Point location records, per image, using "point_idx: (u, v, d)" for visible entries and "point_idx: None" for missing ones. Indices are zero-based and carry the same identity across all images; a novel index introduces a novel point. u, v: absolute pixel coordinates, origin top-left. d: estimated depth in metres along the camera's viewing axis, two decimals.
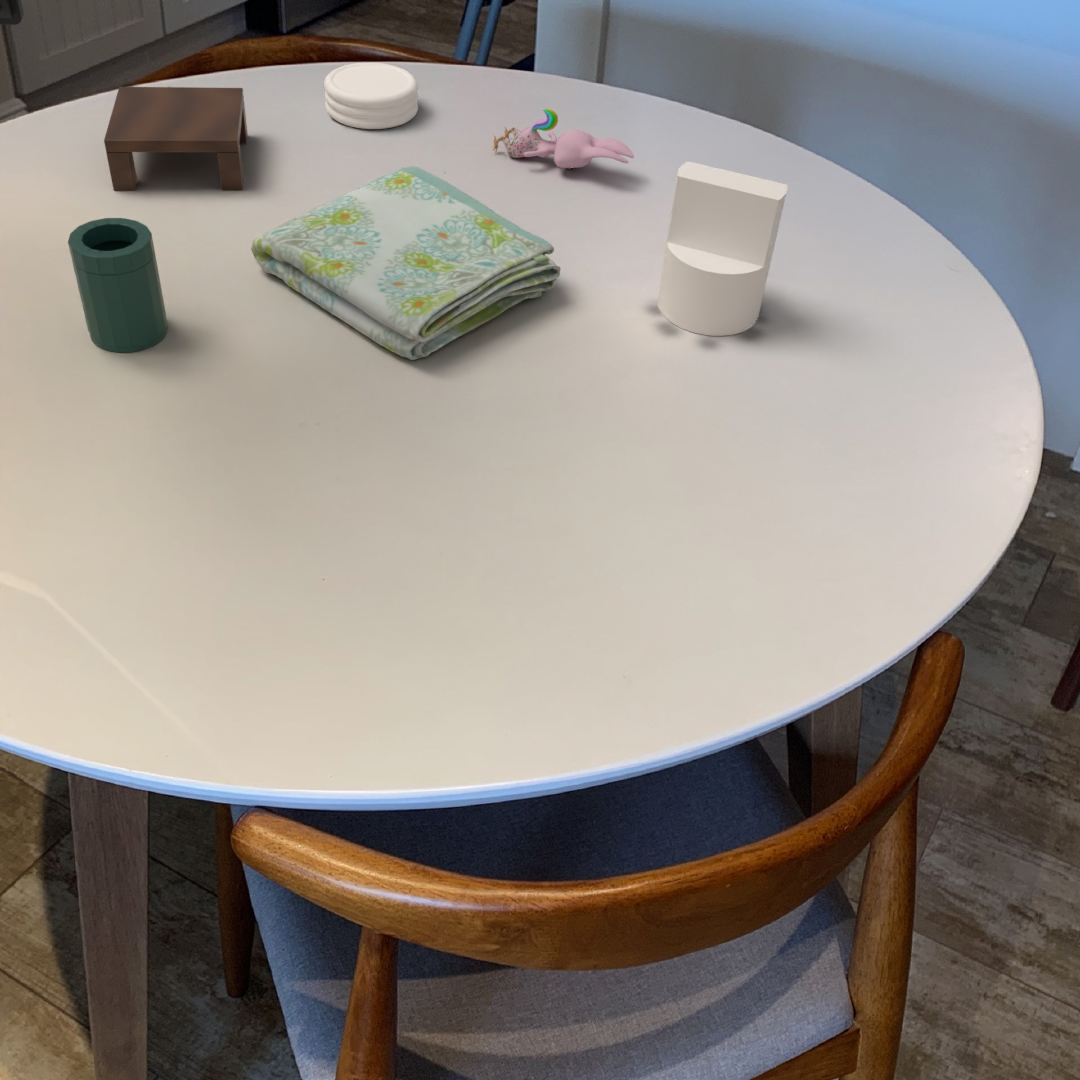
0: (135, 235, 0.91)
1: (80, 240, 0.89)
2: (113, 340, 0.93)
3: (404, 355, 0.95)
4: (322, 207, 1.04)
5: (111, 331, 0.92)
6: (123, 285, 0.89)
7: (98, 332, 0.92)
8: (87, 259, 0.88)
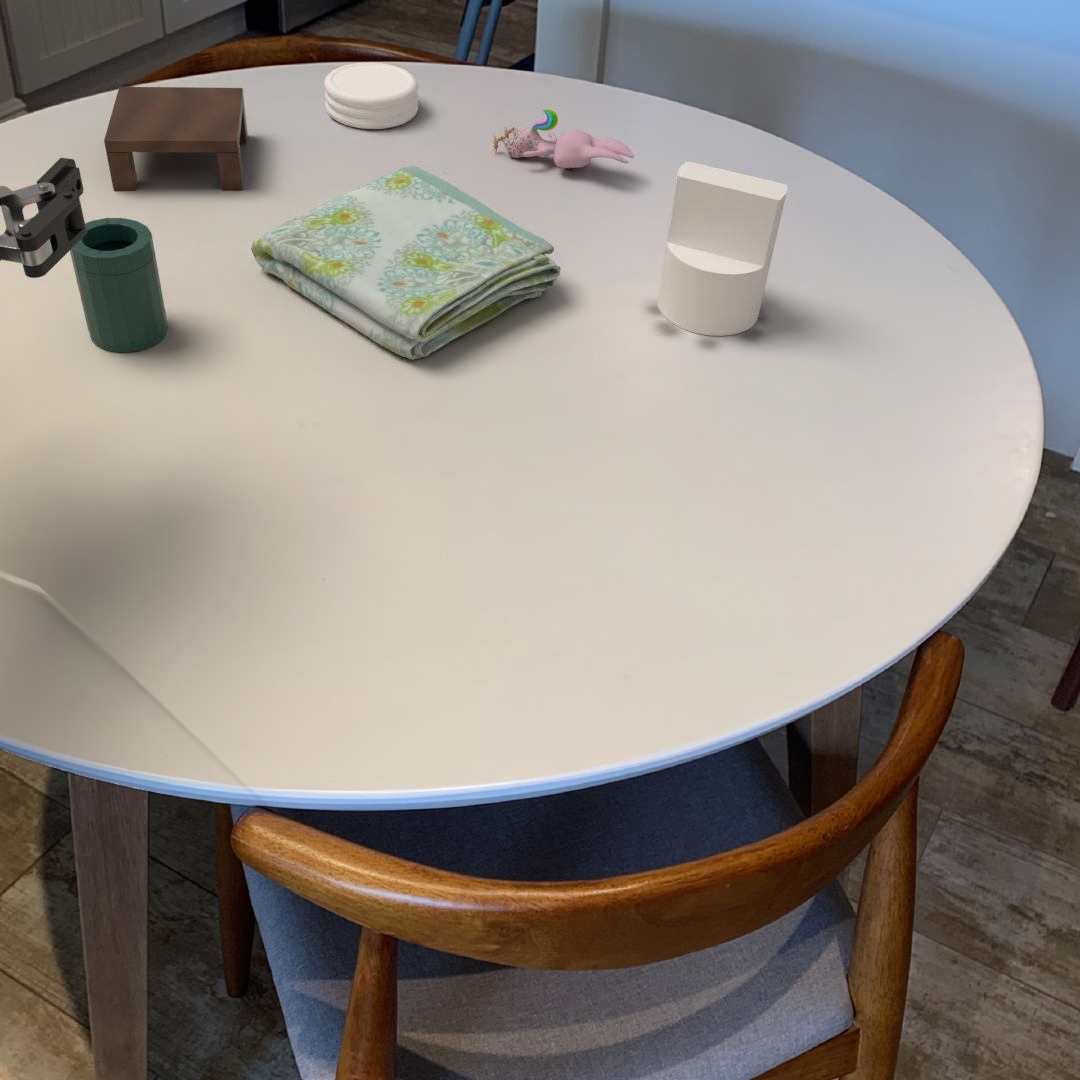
0: (135, 235, 0.91)
1: (80, 240, 0.89)
2: (113, 340, 0.93)
3: (404, 355, 0.95)
4: (322, 207, 1.04)
5: (111, 331, 0.92)
6: (123, 285, 0.89)
7: (98, 332, 0.92)
8: (87, 259, 0.88)
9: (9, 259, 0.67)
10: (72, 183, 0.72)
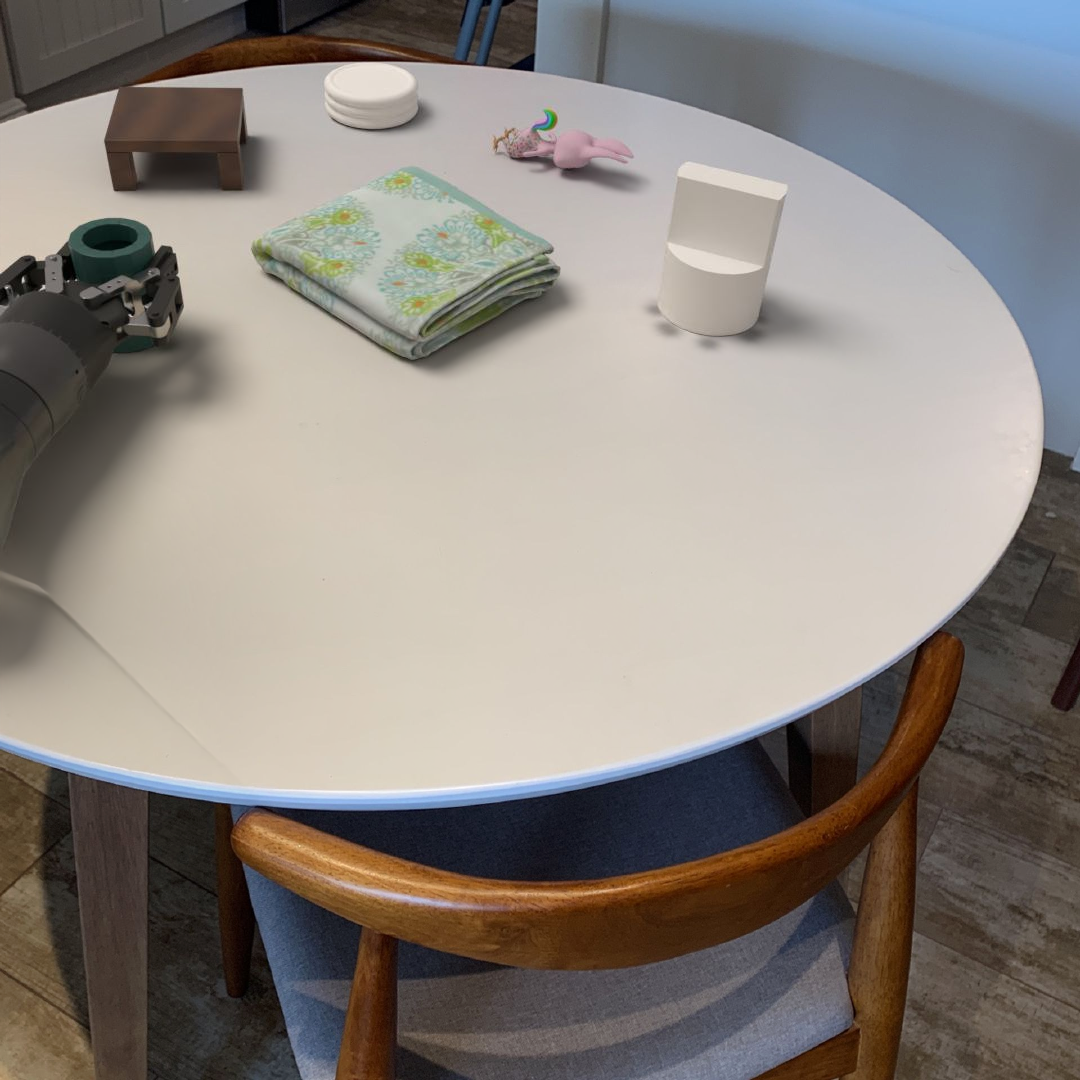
0: (135, 235, 0.91)
1: (80, 240, 0.89)
2: None
3: (404, 355, 0.95)
4: (322, 207, 1.04)
5: None
6: None
7: None
8: (87, 259, 0.88)
9: (140, 334, 0.86)
10: (171, 266, 0.91)
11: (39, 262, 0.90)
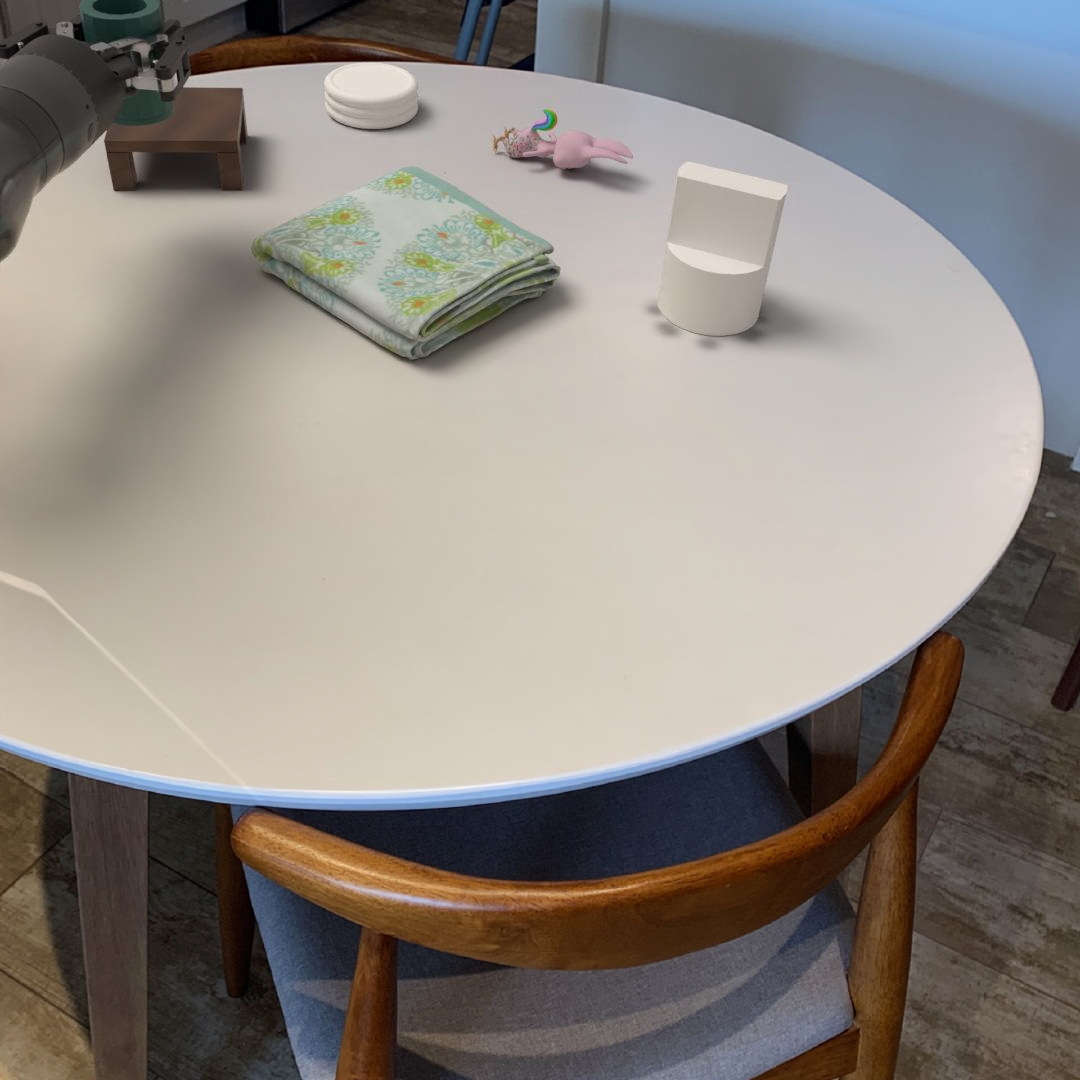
0: (144, 7, 0.94)
1: (91, 6, 0.92)
2: (122, 112, 0.95)
3: (404, 355, 0.95)
4: (322, 207, 1.04)
5: None
6: None
7: None
8: (97, 21, 0.91)
9: (148, 88, 0.88)
10: (179, 37, 0.94)
11: (50, 29, 0.93)
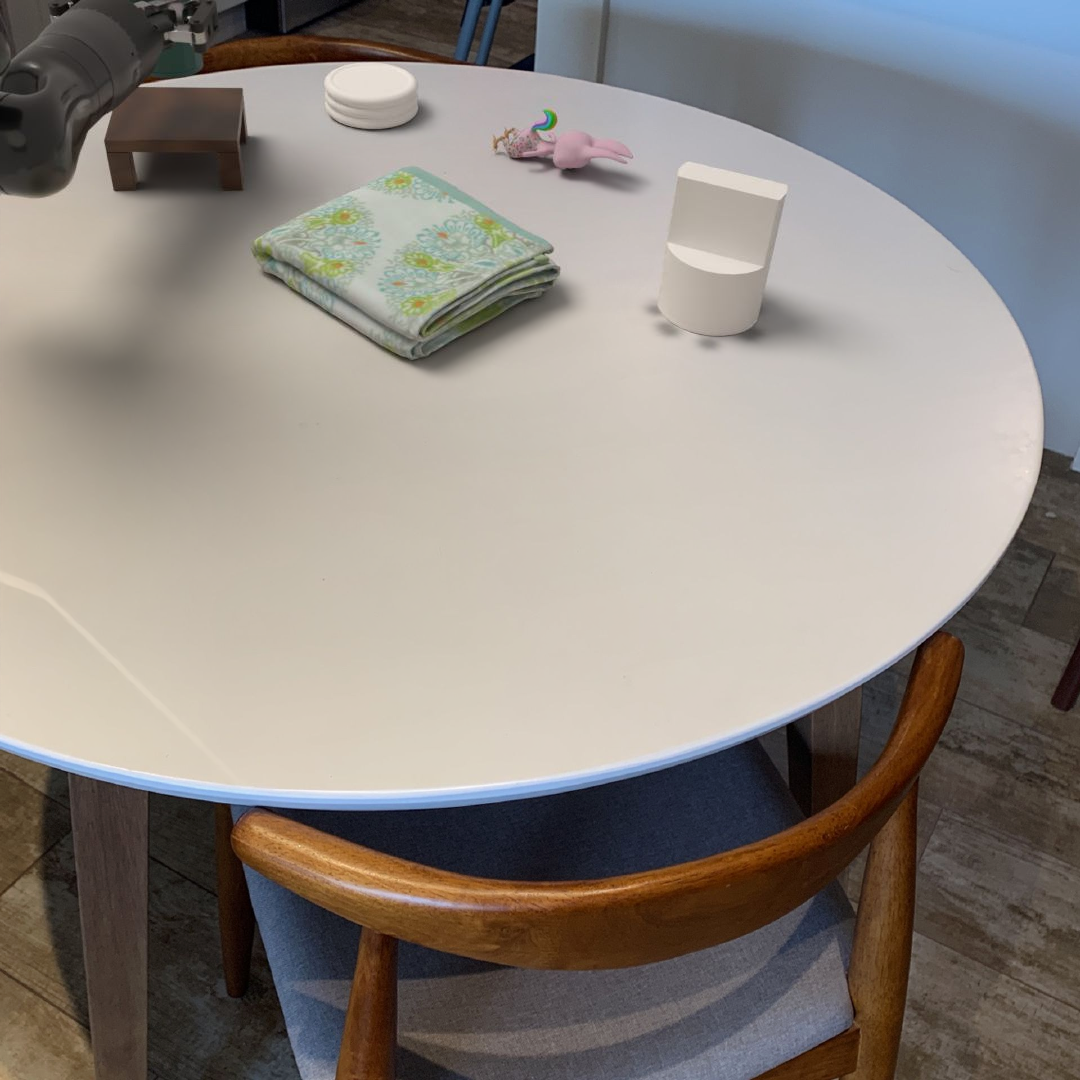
0: None
1: None
2: (158, 65, 1.07)
3: (404, 355, 0.95)
4: (322, 207, 1.04)
5: None
6: None
7: None
8: None
9: (183, 41, 1.01)
10: None
11: None
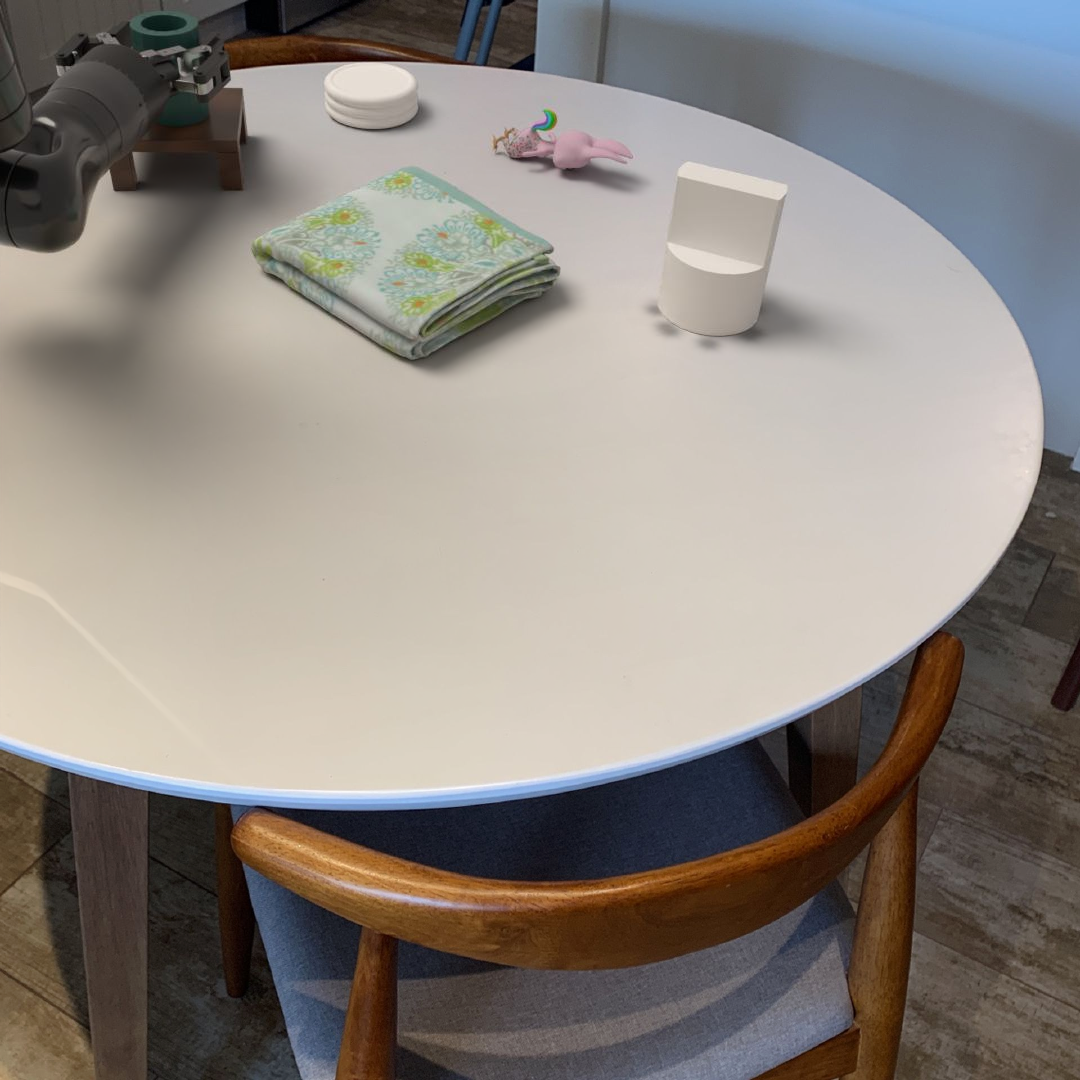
0: (184, 24, 1.09)
1: (139, 24, 1.07)
2: (165, 114, 1.11)
3: (404, 355, 0.95)
4: (322, 207, 1.04)
5: None
6: (175, 62, 1.08)
7: None
8: (146, 37, 1.06)
9: (187, 90, 1.03)
10: (220, 48, 1.09)
11: (90, 38, 1.07)
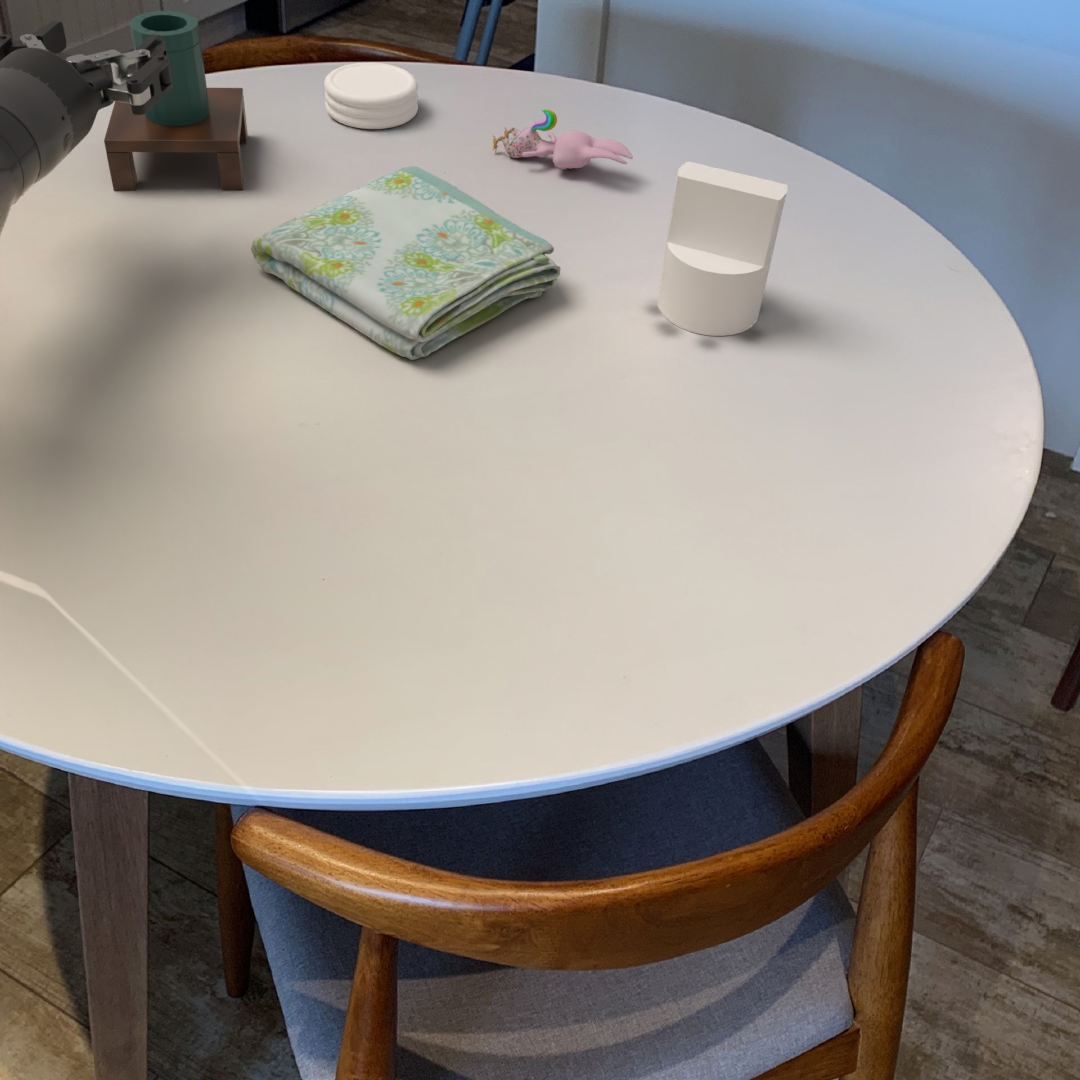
0: (184, 24, 1.09)
1: (139, 24, 1.07)
2: (165, 114, 1.11)
3: (404, 355, 0.95)
4: (322, 207, 1.04)
5: (164, 105, 1.10)
6: (175, 62, 1.08)
7: (152, 108, 1.11)
8: (146, 37, 1.06)
9: (120, 100, 0.91)
10: (161, 52, 0.97)
11: (14, 41, 0.95)
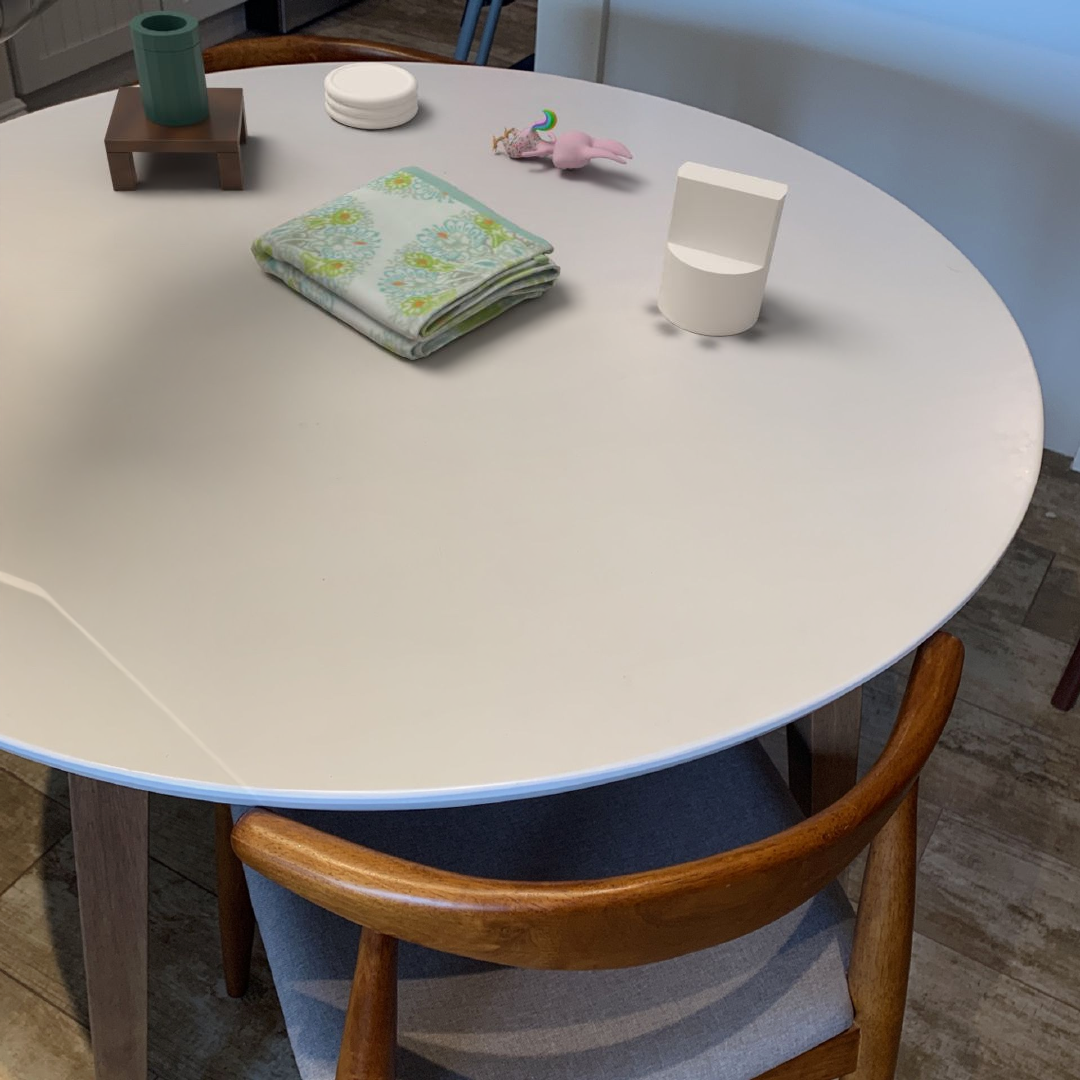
0: (184, 24, 1.09)
1: (139, 24, 1.07)
2: (165, 114, 1.11)
3: (404, 355, 0.95)
4: (322, 207, 1.04)
5: (164, 105, 1.10)
6: (175, 62, 1.08)
7: (152, 108, 1.11)
8: (146, 37, 1.06)
9: None
10: None
11: None
